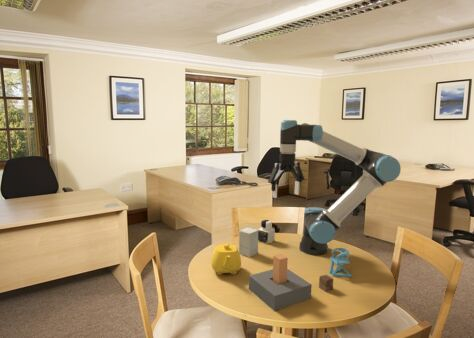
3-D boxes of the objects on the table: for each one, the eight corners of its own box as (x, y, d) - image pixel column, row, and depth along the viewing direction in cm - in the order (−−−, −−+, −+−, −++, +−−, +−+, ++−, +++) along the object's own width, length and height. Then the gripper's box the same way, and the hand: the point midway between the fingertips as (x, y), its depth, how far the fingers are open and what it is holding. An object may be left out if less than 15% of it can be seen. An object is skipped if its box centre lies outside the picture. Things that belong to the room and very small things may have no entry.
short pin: (325, 285, 148) (326, 274, 147) (332, 289, 144) (333, 278, 144) (318, 287, 146) (319, 276, 145) (325, 291, 142) (326, 280, 142)
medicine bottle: (257, 241, 196) (257, 220, 194) (264, 237, 202) (265, 218, 200) (267, 244, 192) (268, 223, 190) (274, 240, 197) (275, 220, 195)
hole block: (283, 279, 153) (283, 266, 152) (310, 298, 137) (311, 284, 136) (248, 288, 144) (249, 275, 143) (274, 310, 128) (274, 295, 127)
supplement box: (258, 253, 180) (259, 230, 178) (249, 257, 174) (249, 233, 172) (247, 249, 185) (248, 226, 183) (238, 253, 179) (238, 230, 177)
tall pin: (280, 290, 143) (281, 253, 140) (286, 294, 140) (287, 257, 137) (272, 292, 141) (273, 255, 138) (278, 297, 138) (279, 259, 135)
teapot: (238, 262, 169) (239, 237, 167) (243, 282, 149) (244, 254, 147) (210, 262, 168) (210, 238, 166) (212, 283, 148) (212, 255, 146)
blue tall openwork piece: (326, 270, 161) (328, 246, 159) (342, 269, 163) (344, 245, 161) (334, 278, 154) (336, 253, 152) (351, 276, 156) (353, 251, 154)
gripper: (302, 150, 174) (300, 191, 177) (261, 153, 161) (260, 196, 165) (312, 152, 167) (310, 194, 171) (270, 154, 155) (269, 200, 159)
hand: (285, 195), depth 168 cm, fingers open, 13 cm apart
